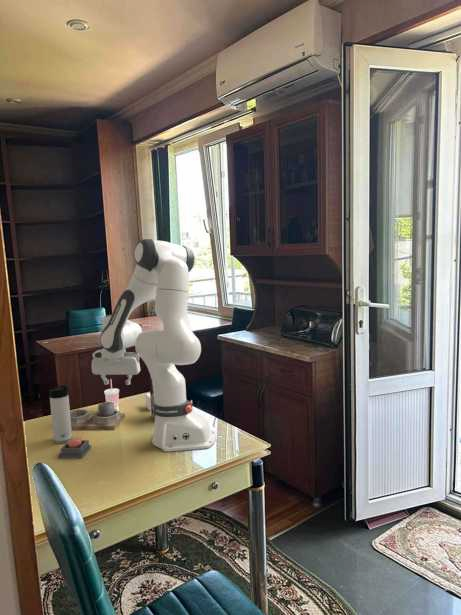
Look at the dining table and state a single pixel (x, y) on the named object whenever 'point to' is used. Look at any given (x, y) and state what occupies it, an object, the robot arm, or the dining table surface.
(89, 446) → the button housing
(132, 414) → the dining table surface
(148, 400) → the adhesive note
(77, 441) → the button
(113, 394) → the beverage cup
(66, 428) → the travel mug
